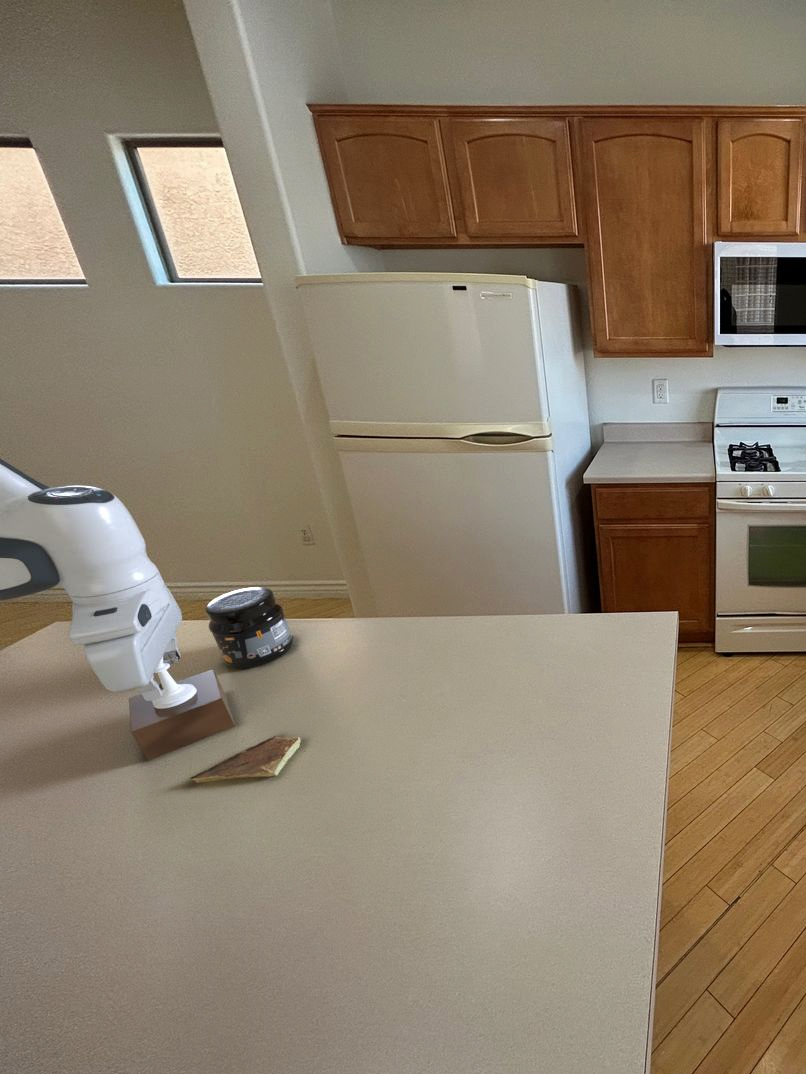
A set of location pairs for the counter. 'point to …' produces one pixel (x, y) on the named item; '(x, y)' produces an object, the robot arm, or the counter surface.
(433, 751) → the counter surface
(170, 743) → the walnut block
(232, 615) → the supplement container
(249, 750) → the shard
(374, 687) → the counter surface
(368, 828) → the counter surface
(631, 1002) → the counter surface
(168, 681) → the chess piece
